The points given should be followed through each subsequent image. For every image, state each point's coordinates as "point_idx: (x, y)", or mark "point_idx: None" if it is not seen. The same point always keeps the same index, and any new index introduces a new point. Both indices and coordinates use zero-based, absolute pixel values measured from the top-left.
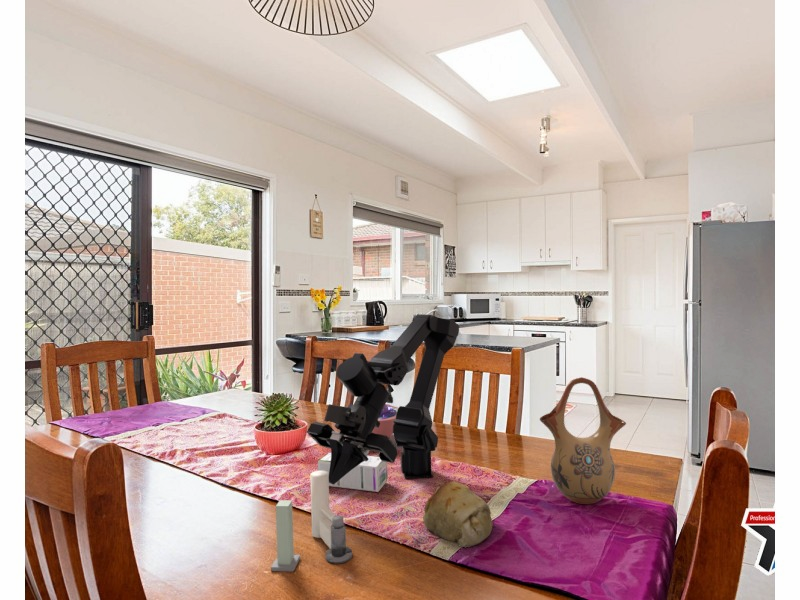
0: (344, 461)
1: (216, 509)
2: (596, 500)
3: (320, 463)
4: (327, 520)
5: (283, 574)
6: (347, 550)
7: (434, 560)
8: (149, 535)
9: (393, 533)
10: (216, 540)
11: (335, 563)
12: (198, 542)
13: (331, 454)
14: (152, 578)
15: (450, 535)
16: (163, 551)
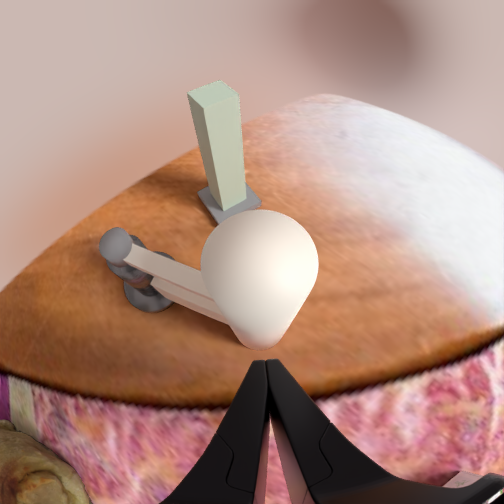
0: (201, 460)
1: (499, 245)
2: None
3: None
4: (214, 304)
5: None
6: (141, 299)
7: (18, 366)
8: (462, 150)
9: (112, 427)
10: (405, 181)
11: None
12: (414, 165)
13: (366, 459)
14: (355, 102)
15: (16, 432)
16: (414, 134)
